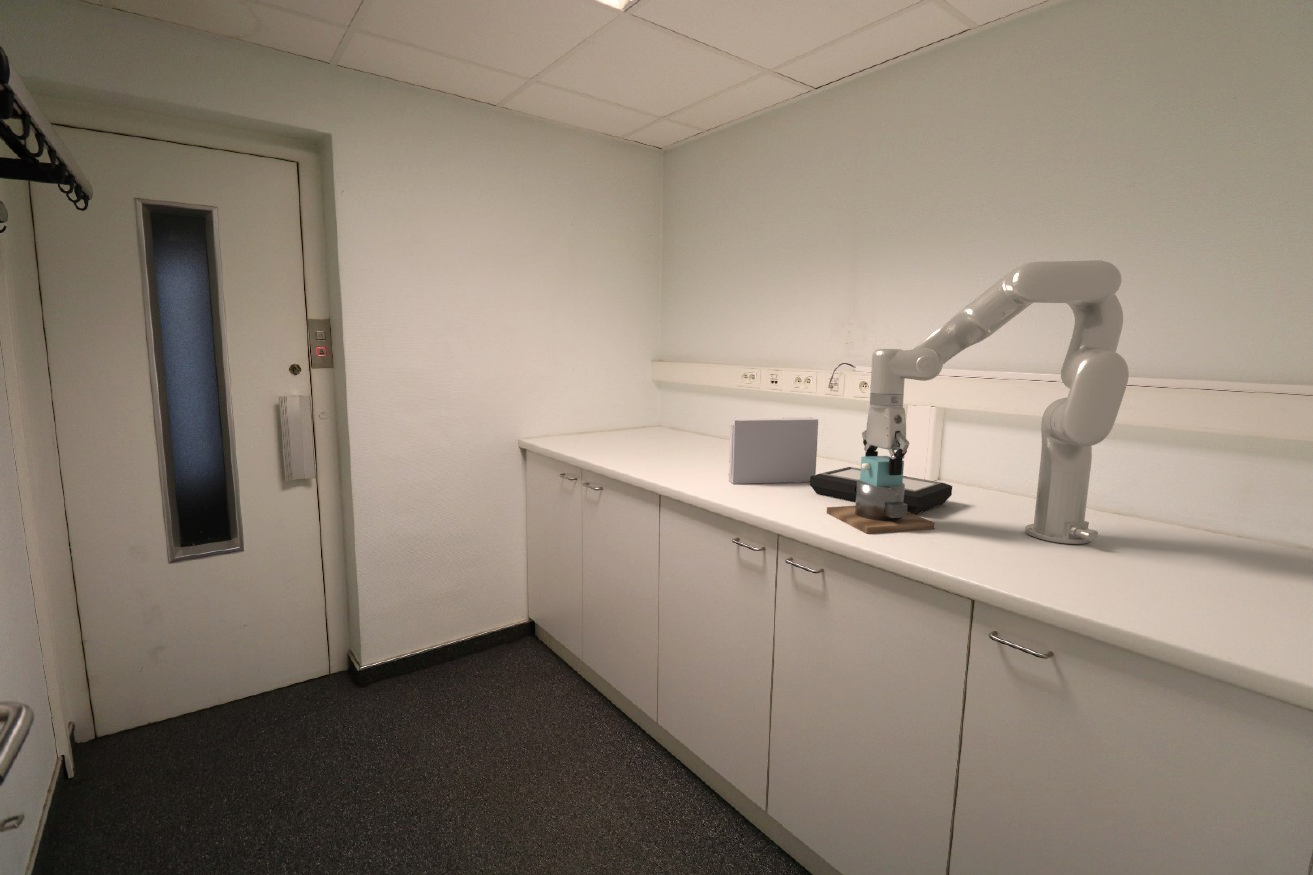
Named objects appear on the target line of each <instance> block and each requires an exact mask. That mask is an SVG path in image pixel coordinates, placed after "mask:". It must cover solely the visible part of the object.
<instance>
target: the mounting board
mask: <svg viewBox="0 0 1313 875" xmlns="http://www.w3.org/2000/svg"><path fill="white" fill-rule="evenodd" d="M855 506H856V505H845V506H844V505H843V506H828V507H826V514H828V515H829V516H832V517H833V518H836V519H837V520H840V521H841V522H844V523H845V524H847V525H850V526H851V527H853V528H855V529H857V530H859V531H861V532H862V531H863V533H864V534H867V535H869V534H881V533H882V534H883V533H893V532H895V533H896V532H897V533H898V532H908V531H911V532H912V531H922V530H923V531H924V530H935V522H934V521H931V520H929V519H927V518H925V517H923V516H922V517H921V516H919V515H918V514H916V515H915V514H912V513H910V512H907V517H902V519H900V520H895V521H878V520H871V519H866V518H863V517H860V516H858V515H856V514H855Z"/></svg>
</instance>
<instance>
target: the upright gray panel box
mask: <svg viewBox="0 0 1313 875" xmlns="http://www.w3.org/2000/svg"><path fill="white" fill-rule="evenodd" d="M729 421H730V422H729V423H730V424H729V428H730V429H729V457H728V460H729V462H728V463H729V468H728V481H729V483H731V484H733V485H743V484H747V485H748V484H772V483H773V484H774V483H775V484H779V483H808V482H809V483H810V476H814V475H817V455H818V438H819V437H818V434H819V433H818V432H819V419H818V418H814V417H782V418H781V417H779V418H778V417H776V418H772V417H771V418H769V417H768V418H736V417H735V418H734V417H732V418H730V420H729Z"/></svg>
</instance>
